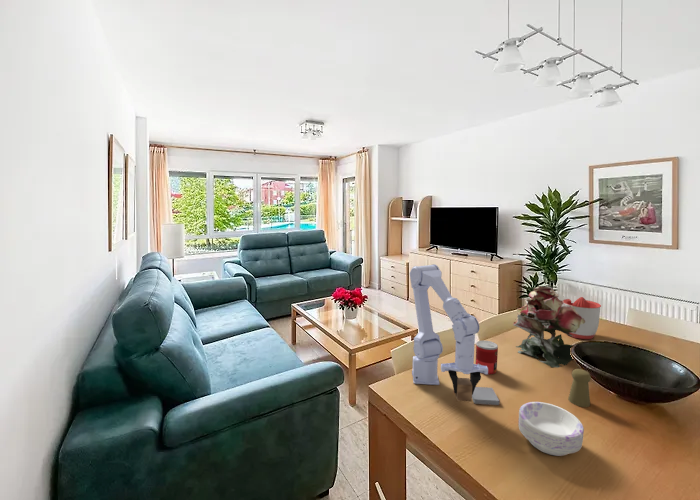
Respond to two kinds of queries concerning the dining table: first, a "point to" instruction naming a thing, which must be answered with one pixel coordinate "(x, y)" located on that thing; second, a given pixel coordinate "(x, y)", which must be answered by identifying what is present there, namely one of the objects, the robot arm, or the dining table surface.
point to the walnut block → (464, 389)
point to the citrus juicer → (586, 317)
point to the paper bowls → (550, 428)
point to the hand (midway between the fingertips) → (463, 392)
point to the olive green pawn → (580, 388)
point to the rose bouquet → (547, 326)
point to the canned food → (487, 355)
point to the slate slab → (485, 396)
